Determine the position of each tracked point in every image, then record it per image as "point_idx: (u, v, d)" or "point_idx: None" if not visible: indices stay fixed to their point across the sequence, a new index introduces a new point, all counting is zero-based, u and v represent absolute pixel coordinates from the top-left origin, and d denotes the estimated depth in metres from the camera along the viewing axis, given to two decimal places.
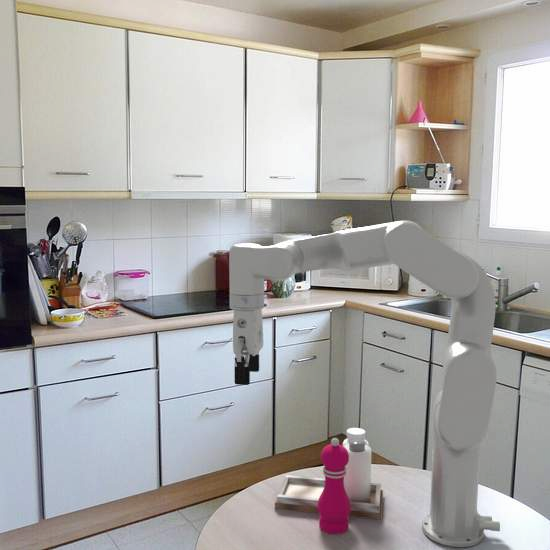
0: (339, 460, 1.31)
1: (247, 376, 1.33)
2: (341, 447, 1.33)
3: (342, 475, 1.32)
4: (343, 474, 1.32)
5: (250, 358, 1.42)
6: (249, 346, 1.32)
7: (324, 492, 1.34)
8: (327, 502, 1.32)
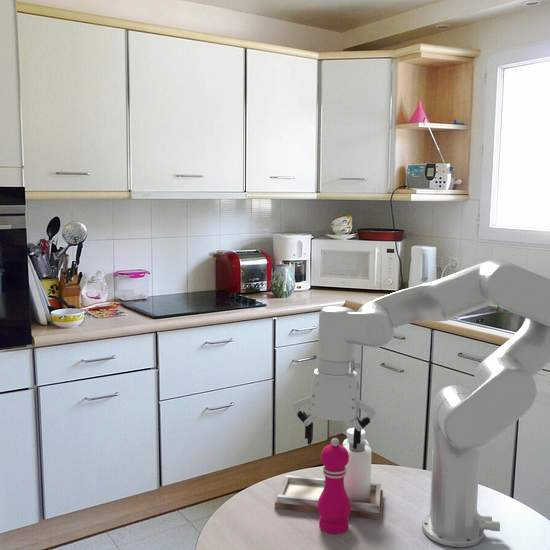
0: (339, 460, 1.31)
1: None
2: (341, 447, 1.33)
3: (342, 475, 1.32)
4: (343, 474, 1.32)
5: (312, 428, 1.33)
6: None
7: (324, 492, 1.34)
8: (327, 502, 1.32)
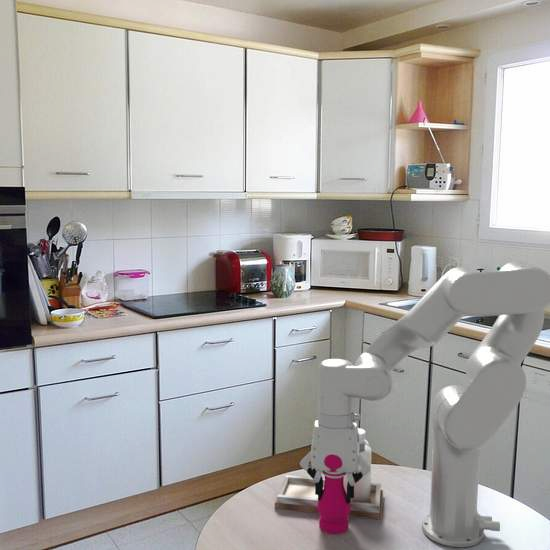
0: (338, 460, 1.31)
1: None
2: None
3: (342, 475, 1.32)
4: (343, 474, 1.32)
5: (322, 484, 1.35)
6: None
7: (324, 492, 1.34)
8: (327, 503, 1.32)
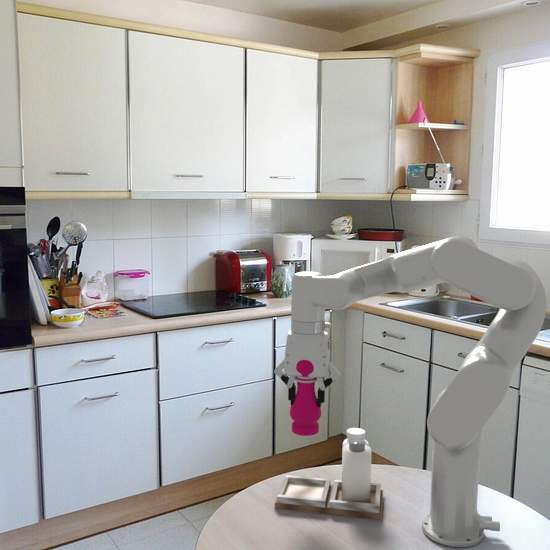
0: (310, 365, 1.39)
1: None
2: None
3: (313, 380, 1.41)
4: (314, 379, 1.41)
5: (294, 390, 1.43)
6: None
7: (296, 397, 1.42)
8: (298, 406, 1.41)
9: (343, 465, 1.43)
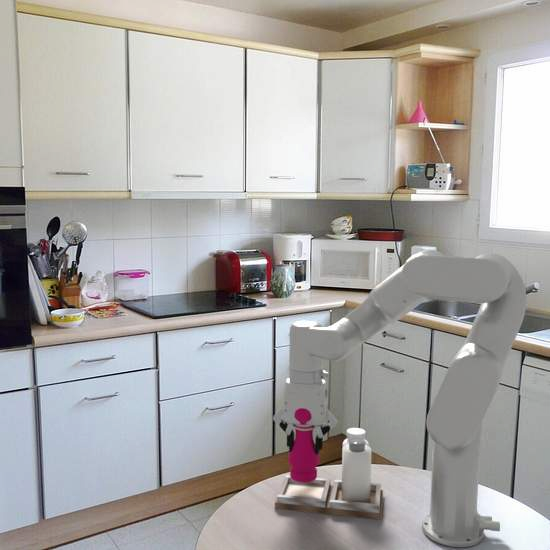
0: (308, 413, 1.42)
1: None
2: None
3: (311, 428, 1.43)
4: (312, 427, 1.43)
5: (293, 437, 1.46)
6: None
7: (294, 444, 1.45)
8: (297, 453, 1.43)
9: (343, 465, 1.43)
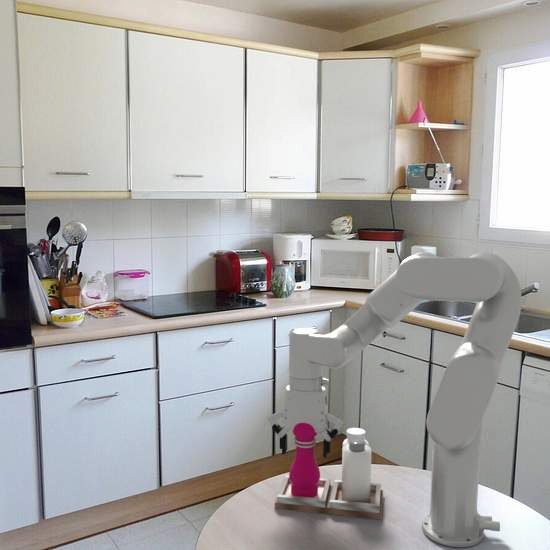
0: (308, 431, 1.42)
1: None
2: None
3: (311, 445, 1.43)
4: (312, 444, 1.44)
5: (286, 439, 1.46)
6: None
7: (295, 461, 1.45)
8: (297, 470, 1.44)
9: (343, 465, 1.43)
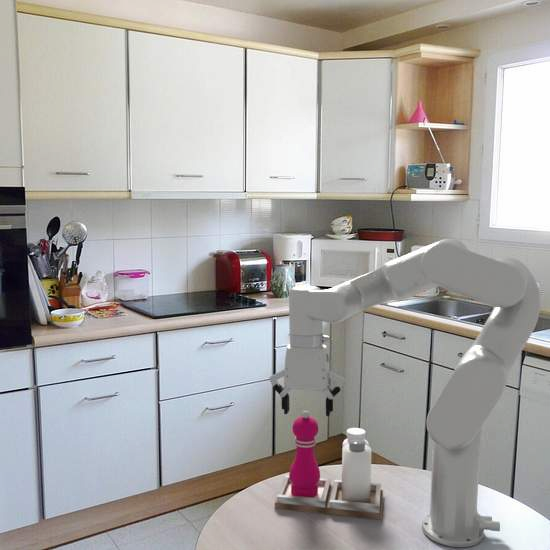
0: (309, 430, 1.42)
1: None
2: (311, 419, 1.44)
3: (312, 445, 1.44)
4: (313, 444, 1.44)
5: (287, 399, 1.45)
6: None
7: (295, 460, 1.45)
8: (298, 470, 1.44)
9: (343, 465, 1.43)
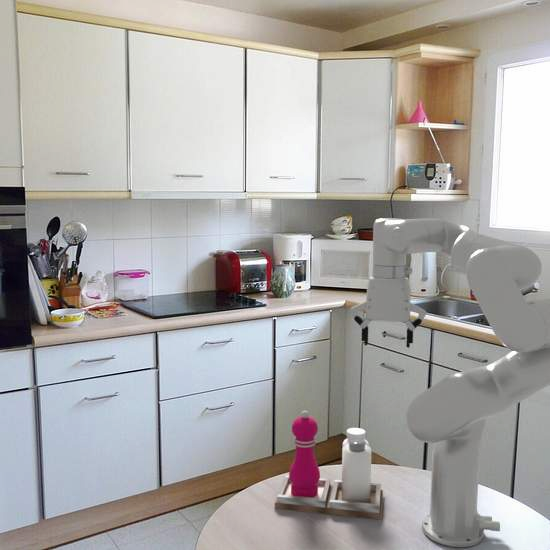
0: (308, 430, 1.42)
1: None
2: (310, 419, 1.44)
3: (311, 444, 1.44)
4: (312, 444, 1.44)
5: None
6: None
7: (295, 460, 1.45)
8: (297, 470, 1.44)
9: (343, 465, 1.43)
